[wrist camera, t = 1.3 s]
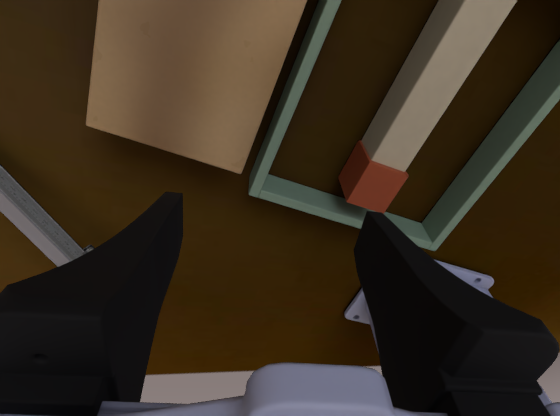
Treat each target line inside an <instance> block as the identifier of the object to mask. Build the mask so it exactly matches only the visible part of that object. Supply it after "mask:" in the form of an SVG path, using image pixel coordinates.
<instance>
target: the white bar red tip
mask: <svg viewBox="0 0 560 416" xmlns="http://www.w3.org/2000/svg"><path fill="white" fill-rule="evenodd" d="M516 2H517V0H439V1H438V3H437V4H436V6H435V8H434V10H433V12H432V13H431V15H430V17H429V19H428V21H427V22H426V24H425V26H424V28H423V30H422V32H421V33H420V35H419V37H418V39H417V41H416V42H415V44H414V46H413V48H412V50H411V51H410V53H409V55H408V57H407V59H406V60H405V62H404V64H403V66H402V68H401V70H400V71H399V73H398V75H397V77H396V79H395V80H394V82H393V84H392V86H391V88H390V89H389V91H388V93H387V95H386V97H385V98H384V100H383V102H382V104H381V106H380V108H379V109H378V111H377V113H376V115H375V117H374V118H373V120H372V122H371V124H370V126H369V127H368V129H367V131H366V133H365V135H364V136H363V138H362V140H358V142H357V144H356V146H355V147H354V149H353V151H352V153H351V155H350V157H349V158H348V160H347V162H346V164H345V166H344V168H343V169H342V171H341V173H340V175H339V177H338V178H339V181H340V184H341V187H342V190H343V193H344V196H345V199H346V202H348V203H351V204H354V205H357V206H360V207H363V208H366V209H370V210H373V211H376V212H382V213H383V214H384V212H385V211H386V209H387V208H388V206H389V205H390V203H391V202H392V200H393V199H394V197H395V196H396V194H397V193H398V191H399V190H400V188H401V187H402V185H403V184H404V182H405V181H406V179H407V178H408V176H409V175H408V174H407V172H406V169H407V168H408V166H409V165H410V163H411V162H412V160H413V159H414V157H415V155H416V154H417V152H418V151H419V149H420V148H421V146H422V145H423V143H424V142H425V140H426V139H427V137H428V136H429V134H430V133H431V131H432V130H433V128H434V127H435V125H436V123H437V122H438V120H439V119H440V117H441V116H442V114H443V113H444V111H445V110H446V108H447V107H448V105H449V104H450V102H451V101H452V99H453V98H454V96H455V95H456V93H457V91H458V90H459V88H460V87H461V85H462V84H463V82H464V81H465V79H466V78H467V76H468V75H469V73H470V72H471V70H472V69H473V67H474V66H475V64H476V63H477V61H478V59H479V58H480V56H481V55H482V53H483V52H484V50H485V49H486V47H487V46H488V44H489V43H490V41H491V40H492V38H493V37H494V35H495V34H496V32H497V30H498V29H499V27H500V26H501V24H502V23H503V21H504V20H505V18H506V17H507V15H508V14H509V12H510V11H511V9H512V8H513V6H514V5H515V3H516Z"/></svg>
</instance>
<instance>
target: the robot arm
mask: <svg viewBox="0 0 560 416" xmlns="http://www.w3.org/2000/svg"><path fill="white" fill-rule="evenodd" d="M182 238H183V193H173V192H165V193H164V194H163V195H162V196H161V197H160V198H159V199H158V200H157V201H155V202H154V203H153V204H152V205H151V206H150V207H149V208H148V209H147V210H146V211H145V212H144V213H143V214H141V215H140V216H139V217H138V218H137V219H136V220H135V221H133V222H132V223H131V224H130V225H128V226H127V227H126V228H125V229H123V230H122V231H121V232H119V233H118V234H117V235H115V236H114V237H113V238H111V239H110V240H108V241H107V242H105V243H103V244H102V245H100V246H98V247H97V248H95V249H93V250H91V251H89V252H88V253H86V254H84V255H82V256H80V257H78V258H76V259H74V260H72V261H70V262H68V263H66V264H63V265H61V266H59V267H57V268H54V269H52V270H49V271H47V272H44V273H42V274H39V275H36V276H33V277H30V278H27V279H25V280H22V281H19V282H16V283H13V284H9V285H7V286H6V287H5V289H4V290H3V291H2V292H1V293H0V416H560V403H559V402H557V403H552V402H551V400H550V399H549V397H548V396H547V394H546V393H545V391H544V390H543V388H542V387H541V386H540V385H539V384H538V382H537V379H538V378H539V377H540V376H541V375H542V374H543V373H544V372H545V371H546V370H547V369H548V368H549V367H550V366H551V365H552V363H553V362H554V361H555V359H556V358H557V356H558V352H559V345H558V342H557V341H556V339H555V338H554V337H553V335H552V334H551V333H550V331H549V330H548V329H547V327H546V326H545V325H544V323H543V322H542V321H541V320H540V319H537V318H535V317H533V316H531V315H528V314H526V313H524V312H521V311H519V310H517V309H515V308H512V307H510V306H508V305H506V304H504V303H502V302H500V301H498V300H496V299H494V298H493V297H492V296H491V294H490V293H489V291H488V289H489V288H490V287H491V286H492V285H493V283H494V280H493V278H492V277H491V276H488V275H485V274H481V273H478V272H475V271H471V270H468V269H464V268H461V267H458V266H454V265H451V264H448V263H444V262H441V261H437V260H434V259H433V258H431V257H430V256H429V255H428V254H427V253H425V252H424V251H423V250H422V249H421V248H420V247H418V246H417V245H416V244H415V243H414V242H413V241H412V240H411V239H410V238H409V237H407V236H406V235H405V234H404V233H403V232H402V231H401V230H400V229H399V228H398V227H397V226H396V225H395V224H394V223H393V222H392V221H391V220H390V219H389V218H387V217H386V216H385V215H384V214H383V213H382V212H372V211H367V212H366V215H365V218H364V221H363V224H362V227H361V230H360V233H359V236H358V239H357V242H356V245H355V248H354V255H355V262H356V268H357V273H358V276H359V280H360V283H361V286H362V289H361V290H360V291H359V293H358V294H357V295H356V297H355V298H354V300H353V301H352V302H351V304H350V305H349V306H348V308H347V309H346V311H345V312H344V314H345V318H346V319H349V320H353V321H358V322H362V323H366V324H370V325H371V328H372V332H373V335H374V339H375V342H376V346H377V349H378V353H379V357H380V364H381V370H382V375H381V374H380V373H379V372H377V371H376V370H374V369H371V368H367V367H363V366H353V365H333V364H312V363H291V362H282V363H273V364H268V365H266V366H264V367H261V368H259V369H257V370H256V371H254V372H253V373H252V375H251V376H250V378H249V379H248V381H247V385H246V392H245V395H244V396H238V397H232V398H224V399H218V400H212V401H205V402H198V403H191V404H173V403H172V404H171V403H144V402H140V399H141V393H142V388H143V383H144V379H145V374H146V369H147V364H148V360H149V355H150V351H151V346H152V342H153V337H154V333H155V329H156V325H157V320H158V316H159V313H160V309H161V306H162V303H163V300H164V297H165V295H166V292H167V289H168V286H169V283H170V280H171V278H172V275H173V272H174V269H175V266H176V263H177V260H178V257H179V253H180V248H181V243H182Z"/></svg>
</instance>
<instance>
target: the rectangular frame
mask: <svg viewBox="0 0 560 416" xmlns="http://www.w3.org/2000/svg"><path fill="white" fill-rule="evenodd" d="M340 2H341V0H319V1H318V4H317V6H316V9H315V11H314V14H313V16H312V19H311V21H310V24H309V27H308V29H307V32H306V34H305V37H304V39H303V42H302V44H301V47H300V49H299V52H298V54H297V57H296V59H295V62H294V65H293V67H292V70H291V72H290V75H289V77H288V80H287V82H286V85H285V87H284V90H283V92H282V95H281V97H280V100H279V103H278V105H277V108H276V110H275V113H274V115H273V118H272V120H271V123H270V125H269V128H268V130H267V133H266V135H265V138H264V141H263V143H262V146H261V148H260V151H259V153H258V156H257V158H256V161H255V163H254V166H253V168H252V171H251V174H250V176H249V193H248V194H249V195H251V196H254V197H258V198H260V199H264V200H267V201H270V202H274V203H277V204H280V205H284V206H287V207H290V208H293V209H297V210H300V211H303V212H307V213H310V214H313V215H317V216H320V217H323V218H326V219H330V220H333V221H336V222H340V223H343V224H346V225H350V226H353V227H356V228H360V229H361V227H362V224H363V221H364V218H365V215H366V212H367V211H372V212H376V211H373V210H370V209H366V208H363V207H360V206H357V205H354V204H351V203H348V202H346V199H344V198H341V197H338V196H335V195H332V194H329V193H326V192H322V191H319V190H316V189H313V188H310V187H307V186H304V185H301V184H298V183H294V182H291V181H288V180H285V179H282V178H279V177H276V176H273V175H269V174H268V172H269V170H270V167H271V165H272V163H273V160H274V158H275V156H276V153H277V151H278V148H279V146H280V144H281V141H282V139H283V137H284V134H285V132H286V130H287V127H288V125H289V123H290V120H291V118H292V116H293V113H294V111H295V108H296V106H297V104H298V101H299V99H300V97H301V94H302V92H303V90H304V87H305V85H306V83H307V80H308V78H309V75H310V73H311V71H312V68H313V66H314V64H315V61H316V59H317V57H318V54H319V52H320V50H321V47H322V45H323V42H324V40H325V38H326V35H327V33H328V31H329V28H330V26H331V24H332V21H333V19H334V17H335V14H336V12H337V9H338V7H339V5H340ZM559 99H560V40H559V41H558V42H557V44H556V45H555V46H554V48H553V49H552V50H551V52H550V53H549V54H548V56H547V57H546V58H545V60H544V61H543V62H542V64H541V65H540V66H539V68H538V69H537V70H536V72H535V73H534V74H533V76H532V77H531V78H530V80H529V81H528V82H527V84H526V85H525V86H524V88H523V89H522V90H521V92H520V93H519V94H518V96H517V97H516V98H515V100H514V101H513V102H512V103H511V105H510V106H509V107H508V109H507V110H506V111H505V113H504V114H503V115H502V117H501V118H500V119H499V121H498V122H497V123H496V125H495V126H494V127H493V129H492V130H491V131H490V133H489V134H488V135H487V137H486V138H485V139H484V141H483V142H482V143H481V145H480V146H479V147H478V149H477V150H476V151H475V153H474V154H473V155H472V157H471V158H470V159H469V161H468V162H467V163H466V165H465V166H464V167H463V169H462V170H461V171H460V173H459V174H458V175H457V177H456V178H455V179H454V181H453V182H452V183H451V185H450V186H449V187H448V189H447V190H446V191H445V193H444V194H443V195H442V197H441V198H440V199H439V201H438V202H437V203H436V205H435V206H434V207H433V209H432V210H431V211H430V213H429V214H428V215H427V217H426V218H425V219H424V221H423V222H422V223H419V222H416V221H413V220H410V219H407V218H403V217H400V216H397V215H394V214H391V213H388V212H384V215H385V216H386V217H387V218H389V219H390V220H391V221H392V222H393V223H394V224H395V225H396V226H397V227H398V228H399V229H400V230H401V231H402V232H403V233H404V234H405V235H406V236H407V237H409V238H410V239H411V240H412V241H413V242H414V243H415V244H416V245H417V246H419V247H422V248H426V249H429V250H432V251H436V250H437V248H438V247H439V246H440V245H441V243H442V242H443V241H444V240H445V239H446V237H447V236H448V235H449V234H450V232H451V231H452V230H453V229H454V228H455V226H456V225H457V224H458V223H459V221H460V220H461V219H462V218H463V217H464V215H465V214H466V213H467V212H468V210H469V209H470V208H471V207H472V206H473V204H474V203H475V202H476V201H477V199H478V198H479V197H480V196H481V195H482V193H483V192H484V191H485V190H486V188H487V187H488V186H489V185H490V184H491V182H492V181H493V180H494V179H495V177H496V176H497V175H498V174H499V173H500V171H501V170H502V169H503V168H504V166H505V165H506V164H507V163H508V162H509V160H510V159H511V158H512V157H513V155H514V154H515V153H516V152H517V151H518V149H519V148H520V147H521V146H522V144H523V143H524V142H525V141H526V140H527V138H528V137H529V136H530V135H531V133H532V132H533V131H534V130H535V129H536V127H537V126H538V125H539V124H540V123H541V121H542V120H543V119H544V118H545V116H546V115H547V114H548V113H549V112H550V110H551V109H552V108H553V107H554V105H555V104H556V103H557V102H558V101H559Z"/></svg>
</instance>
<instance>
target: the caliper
mask: <svg viewBox="0 0 560 416" xmlns="http://www.w3.org/2000/svg"><path fill="white" fill-rule="evenodd" d="M0 211H1V212H2V213H3V214H4V215H5V216H6V217H7V218H8V219H9V220H10V221H11V222H12V223H13V224H14V225H15V226H16V227H17V228H18V229H19V230H20V231H21V232H23V233H24V234H25V235H26V236H27V237H28V238H29V239H30V240H31V241H32V242H33V243H34V244H35V245H36V246H37V247H38V248H39V249H40V250H41V251H42V252H43V253H44V254H45V255H46V256H47V257H48V258H49V259H50V260H51V261H52V262H53V263H54V264H55V265H56V266H57V267H59V266H61V265H63V264H66V263H68V262H70V261H72V260H74V259H76V258H78V257H80V256H82V255H84V254H86V253H88V252H89V251H91V250H93V249H95V248H94V247H93V246H92V245H88V246H87V247H85V248H84V249H82V248H81V247H80V246H79V245H78V244H77V243H76V241H75V240H74V239H73V238H72V237H71V236H70V235H69V234H68V233H67V232H66V231H65V230H64V229H63V228H62V227H61V226H60V225H59V224H58V223H57V222H56V221H55V220H54V219H53V218H52V217H51V216H50V215H49V214H48V213H47V212H46V211H45V210H44V209H43V208H42V207H41V206H40V205H39V203H38V202H37V201H36V200H35V199H34V198H33V197H32V196H31V195H30V194H29V193H28V192H27V191H26V190H25V189H24V188H23V187H22V186H21V185H20V184H19V183H18V182H17V181H16V180H15V179H14V178H13V177H12V176H11V175H10V174H9V173H8V172H7V171H6V169H5V168H4V167H3V166H2V165H1V164H0Z"/></svg>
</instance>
